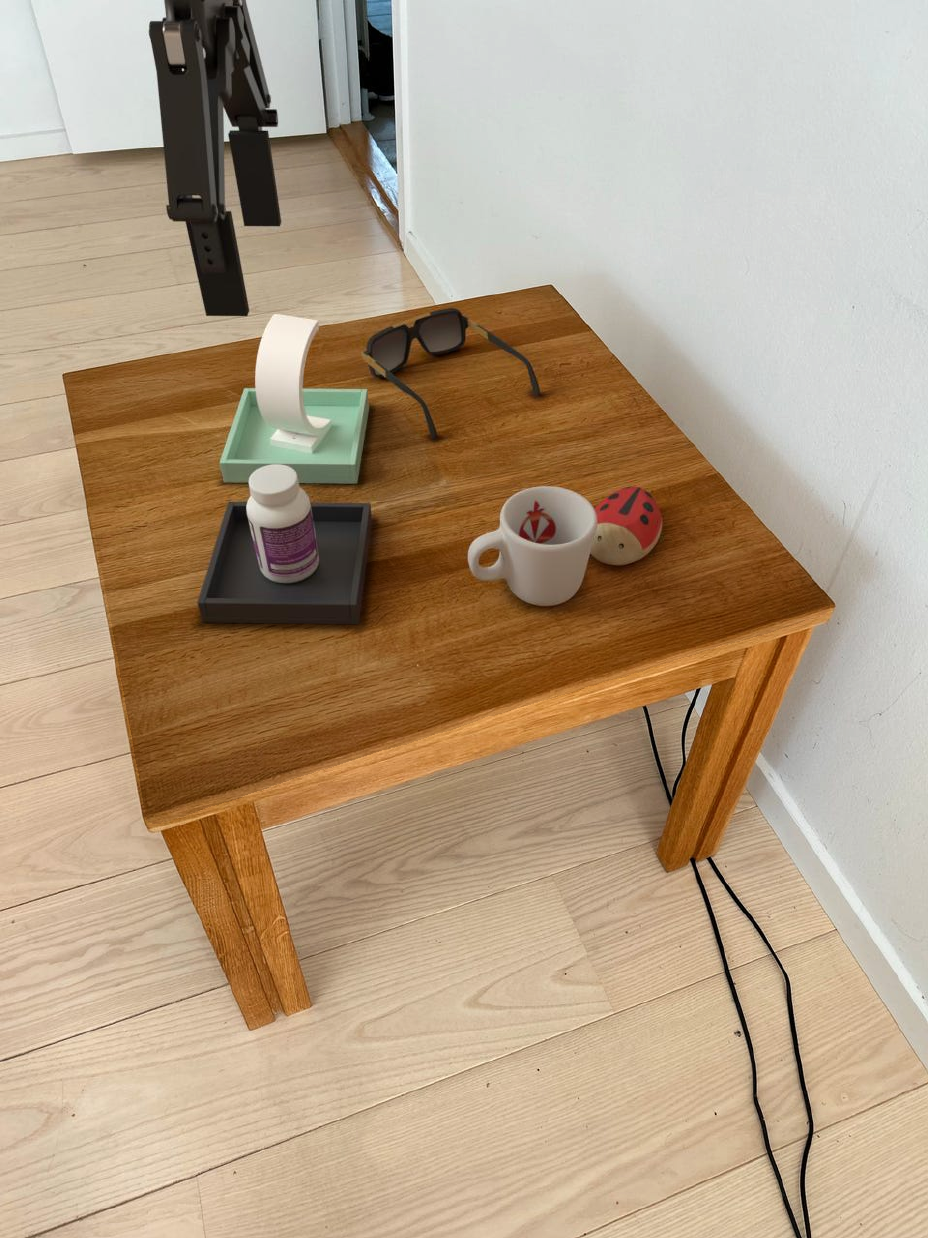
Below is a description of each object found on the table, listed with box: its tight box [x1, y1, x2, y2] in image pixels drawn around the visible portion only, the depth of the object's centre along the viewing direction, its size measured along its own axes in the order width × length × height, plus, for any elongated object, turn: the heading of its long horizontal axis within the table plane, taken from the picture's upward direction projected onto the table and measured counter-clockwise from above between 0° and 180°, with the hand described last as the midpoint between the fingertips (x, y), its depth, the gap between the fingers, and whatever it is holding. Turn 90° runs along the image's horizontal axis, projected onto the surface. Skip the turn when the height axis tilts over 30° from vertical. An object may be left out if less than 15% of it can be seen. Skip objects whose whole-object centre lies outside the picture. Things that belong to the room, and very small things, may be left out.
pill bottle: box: [246, 464, 319, 583], centre depth 79 cm, size 5×5×10 cm
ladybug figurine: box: [590, 486, 663, 566], centre depth 85 cm, size 7×10×4 cm
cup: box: [467, 485, 597, 607], centre depth 78 cm, size 11×8×8 cm
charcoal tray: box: [196, 501, 373, 625], centre depth 82 cm, size 13×13×2 cm
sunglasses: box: [360, 307, 541, 439], centre depth 101 cm, size 14×15×5 cm
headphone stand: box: [254, 313, 332, 453], centre depth 91 cm, size 5×6×12 cm
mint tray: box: [219, 387, 370, 485], centre depth 95 cm, size 13×13×2 cm
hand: (246, 266), depth 65 cm, fingers open, 13 cm apart
